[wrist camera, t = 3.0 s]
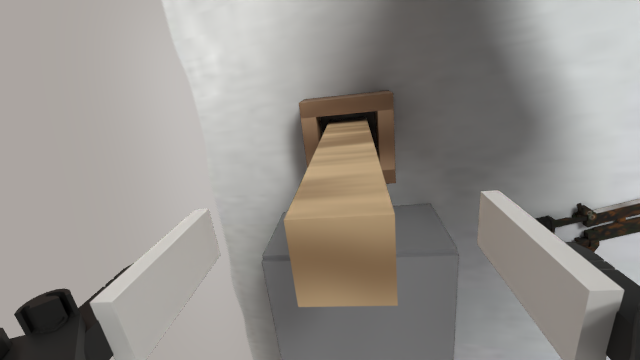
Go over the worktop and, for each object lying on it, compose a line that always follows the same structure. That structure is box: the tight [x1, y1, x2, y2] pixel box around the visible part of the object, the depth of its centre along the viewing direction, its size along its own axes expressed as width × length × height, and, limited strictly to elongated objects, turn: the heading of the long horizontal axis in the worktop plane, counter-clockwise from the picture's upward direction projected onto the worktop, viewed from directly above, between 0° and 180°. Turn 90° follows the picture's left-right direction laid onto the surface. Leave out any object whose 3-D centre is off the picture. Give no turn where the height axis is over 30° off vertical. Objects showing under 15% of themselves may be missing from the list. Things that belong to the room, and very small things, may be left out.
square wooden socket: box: [299, 91, 396, 184], centre depth 32 cm, size 9×9×4 cm
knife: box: [535, 199, 640, 252], centre depth 34 cm, size 25×6×1 cm, turn 105°
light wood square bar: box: [284, 117, 398, 307], centre depth 23 cm, size 4×4×24 cm
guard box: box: [262, 204, 459, 360], centre depth 37 cm, size 28×18×10 cm, turn 6°
